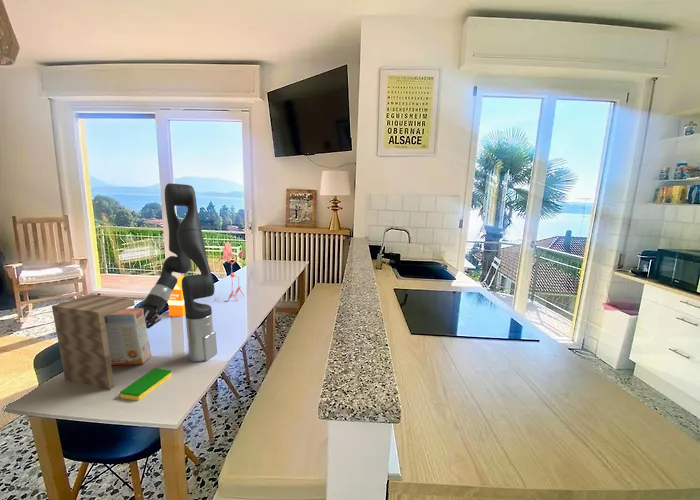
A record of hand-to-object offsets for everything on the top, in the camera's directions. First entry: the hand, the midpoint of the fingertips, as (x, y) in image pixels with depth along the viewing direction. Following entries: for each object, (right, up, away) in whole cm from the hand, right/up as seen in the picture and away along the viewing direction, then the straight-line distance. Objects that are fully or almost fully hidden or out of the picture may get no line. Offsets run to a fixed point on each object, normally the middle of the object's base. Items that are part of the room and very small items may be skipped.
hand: (134, 337), depth 117 cm
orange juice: (-7, 0, +46) cm, 46 cm away
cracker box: (-1, -9, -1) cm, 9 cm away
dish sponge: (+16, -12, -16) cm, 26 cm away
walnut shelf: (-3, -10, -10) cm, 15 cm away
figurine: (+10, +4, +70) cm, 71 cm away
